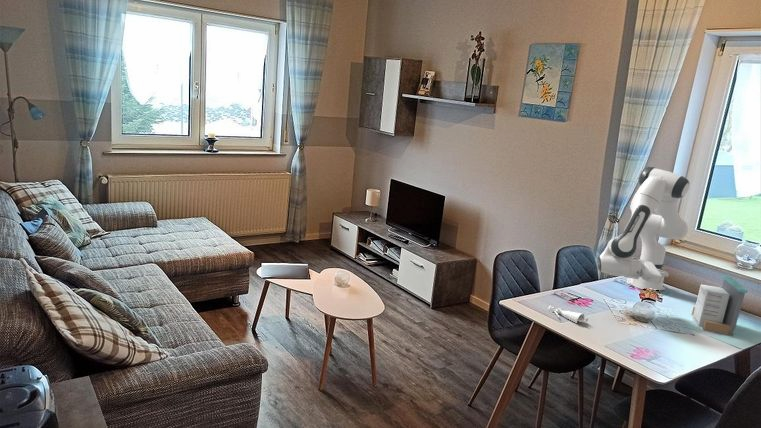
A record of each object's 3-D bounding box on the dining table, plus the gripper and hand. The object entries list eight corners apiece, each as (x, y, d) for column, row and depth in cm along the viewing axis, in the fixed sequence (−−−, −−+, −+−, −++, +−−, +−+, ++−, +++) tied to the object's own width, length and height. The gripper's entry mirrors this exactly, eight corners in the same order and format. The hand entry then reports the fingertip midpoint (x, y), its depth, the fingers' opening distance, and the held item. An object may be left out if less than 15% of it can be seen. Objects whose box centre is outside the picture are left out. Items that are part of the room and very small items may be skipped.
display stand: (691, 314, 252) (702, 271, 247) (719, 319, 250) (730, 276, 245) (704, 330, 234) (716, 285, 229) (734, 336, 232) (747, 290, 227)
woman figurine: (580, 318, 222) (542, 305, 235) (579, 328, 223) (540, 315, 236) (594, 313, 230) (556, 300, 243) (592, 322, 230) (555, 310, 244)
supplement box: (721, 330, 237) (730, 294, 233) (698, 326, 239) (707, 290, 235) (713, 321, 246) (722, 287, 242) (691, 317, 248) (700, 283, 244)
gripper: (641, 270, 235) (675, 275, 232) (632, 256, 254) (663, 260, 251) (638, 283, 237) (672, 289, 234) (629, 268, 256) (660, 273, 253)
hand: (667, 274), depth 243 cm, fingers closed
